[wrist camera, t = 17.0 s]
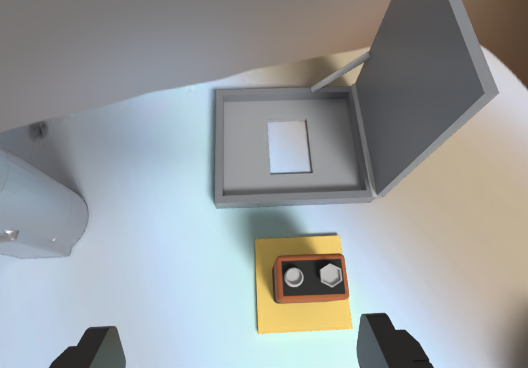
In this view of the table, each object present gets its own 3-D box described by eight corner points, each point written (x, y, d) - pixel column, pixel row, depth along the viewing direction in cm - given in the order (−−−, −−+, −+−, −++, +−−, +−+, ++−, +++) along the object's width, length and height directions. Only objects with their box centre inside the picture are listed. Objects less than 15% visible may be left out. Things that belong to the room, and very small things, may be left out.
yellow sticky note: (351, 328, 36) (352, 328, 36) (258, 333, 36) (258, 333, 36) (338, 236, 41) (339, 235, 40) (254, 240, 40) (254, 239, 40)
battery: (330, 301, 37) (354, 299, 28) (273, 304, 37) (278, 302, 27) (325, 264, 39) (347, 250, 29) (271, 266, 38) (275, 253, 29)
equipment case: (377, 202, 42) (499, 92, 21) (216, 208, 42) (172, 102, 20) (356, 95, 49) (432, -71, 28) (218, 99, 48) (185, -69, 27)
